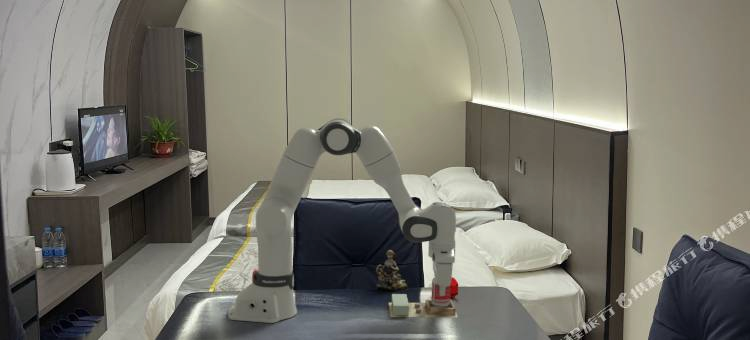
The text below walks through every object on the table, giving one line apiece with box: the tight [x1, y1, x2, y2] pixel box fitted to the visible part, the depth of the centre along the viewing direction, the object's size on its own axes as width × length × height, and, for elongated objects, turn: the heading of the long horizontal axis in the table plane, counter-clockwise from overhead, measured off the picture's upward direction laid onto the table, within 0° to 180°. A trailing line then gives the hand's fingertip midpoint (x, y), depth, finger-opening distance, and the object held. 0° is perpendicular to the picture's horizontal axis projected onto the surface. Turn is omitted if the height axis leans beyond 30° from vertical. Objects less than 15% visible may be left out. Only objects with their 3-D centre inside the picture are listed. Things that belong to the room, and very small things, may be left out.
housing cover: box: [391, 293, 409, 315], centre depth 225 cm, size 5×12×3 cm, turn 1°
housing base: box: [388, 299, 459, 318], centre depth 226 cm, size 22×14×3 cm, turn 91°
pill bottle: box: [431, 271, 451, 307], centre depth 225 cm, size 6×6×11 cm
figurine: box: [375, 249, 409, 292], centre depth 249 cm, size 12×11×15 cm
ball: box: [450, 276, 459, 299], centre depth 242 cm, size 8×8×8 cm
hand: (440, 291), depth 225 cm, fingers closed on pill bottle, 6 cm apart
